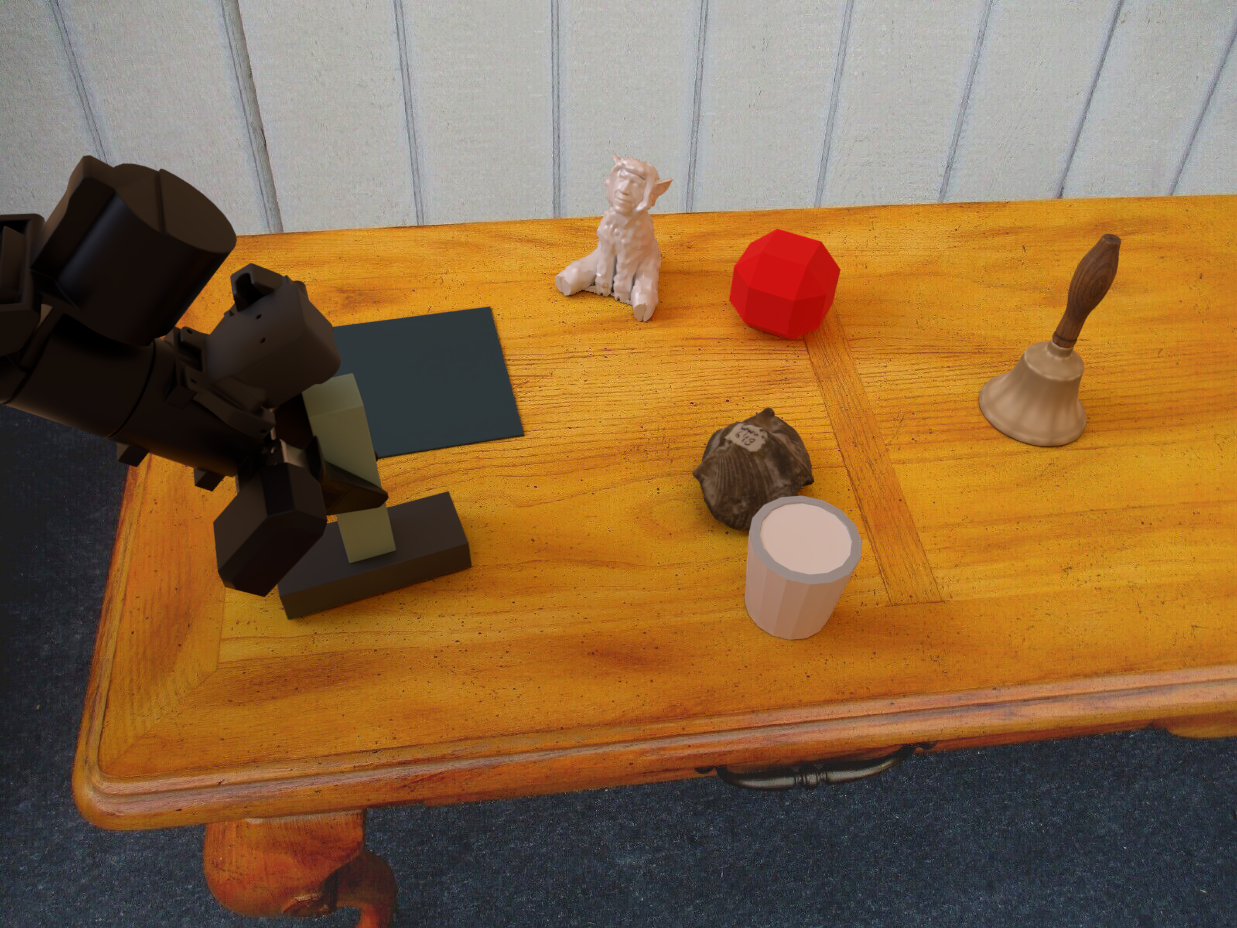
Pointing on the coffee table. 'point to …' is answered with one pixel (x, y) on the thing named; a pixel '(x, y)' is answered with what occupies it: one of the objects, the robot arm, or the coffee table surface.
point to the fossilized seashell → (752, 468)
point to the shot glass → (798, 565)
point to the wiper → (367, 520)
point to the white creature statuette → (623, 241)
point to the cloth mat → (430, 380)
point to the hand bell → (1053, 364)
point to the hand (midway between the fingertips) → (379, 481)
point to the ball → (784, 284)
